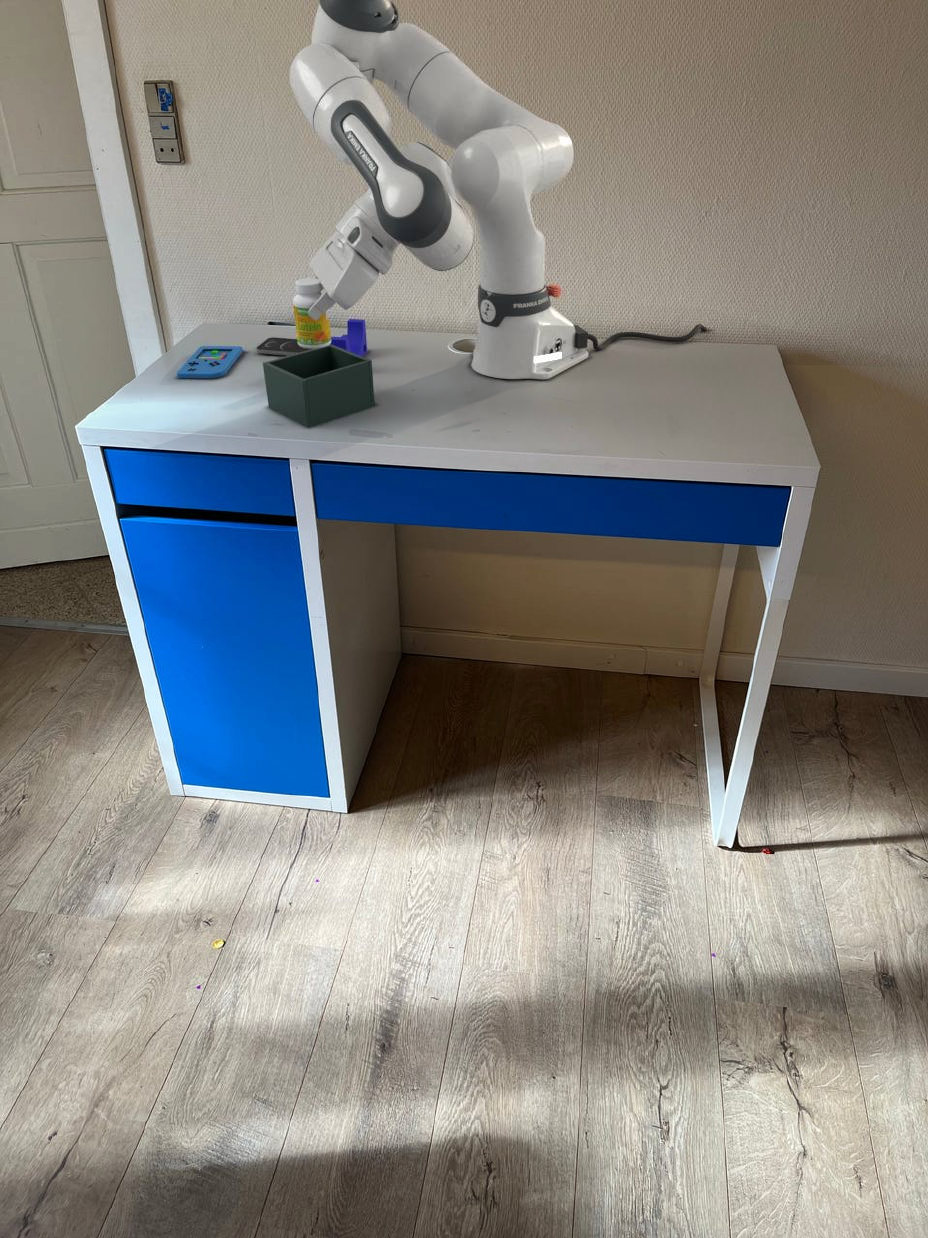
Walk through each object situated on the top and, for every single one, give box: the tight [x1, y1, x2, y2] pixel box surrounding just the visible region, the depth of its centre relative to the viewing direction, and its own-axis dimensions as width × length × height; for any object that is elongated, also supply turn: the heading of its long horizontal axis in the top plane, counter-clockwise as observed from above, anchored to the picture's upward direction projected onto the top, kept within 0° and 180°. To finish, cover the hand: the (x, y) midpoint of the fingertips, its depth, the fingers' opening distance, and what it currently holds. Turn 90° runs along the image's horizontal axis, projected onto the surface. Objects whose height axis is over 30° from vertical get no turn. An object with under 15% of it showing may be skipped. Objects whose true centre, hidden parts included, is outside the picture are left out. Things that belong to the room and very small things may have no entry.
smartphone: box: [255, 336, 311, 356], centre depth 177 cm, size 8×1×15 cm
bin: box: [262, 344, 376, 428], centre depth 152 cm, size 13×11×8 cm
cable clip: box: [330, 318, 368, 357], centre depth 171 cm, size 12×4×6 cm, turn 169°
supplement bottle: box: [292, 277, 332, 349], centre depth 146 cm, size 5×5×10 cm
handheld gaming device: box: [176, 345, 244, 379], centre depth 171 cm, size 8×1×15 cm
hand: (307, 310), depth 145 cm, fingers closed on supplement bottle, 5 cm apart
